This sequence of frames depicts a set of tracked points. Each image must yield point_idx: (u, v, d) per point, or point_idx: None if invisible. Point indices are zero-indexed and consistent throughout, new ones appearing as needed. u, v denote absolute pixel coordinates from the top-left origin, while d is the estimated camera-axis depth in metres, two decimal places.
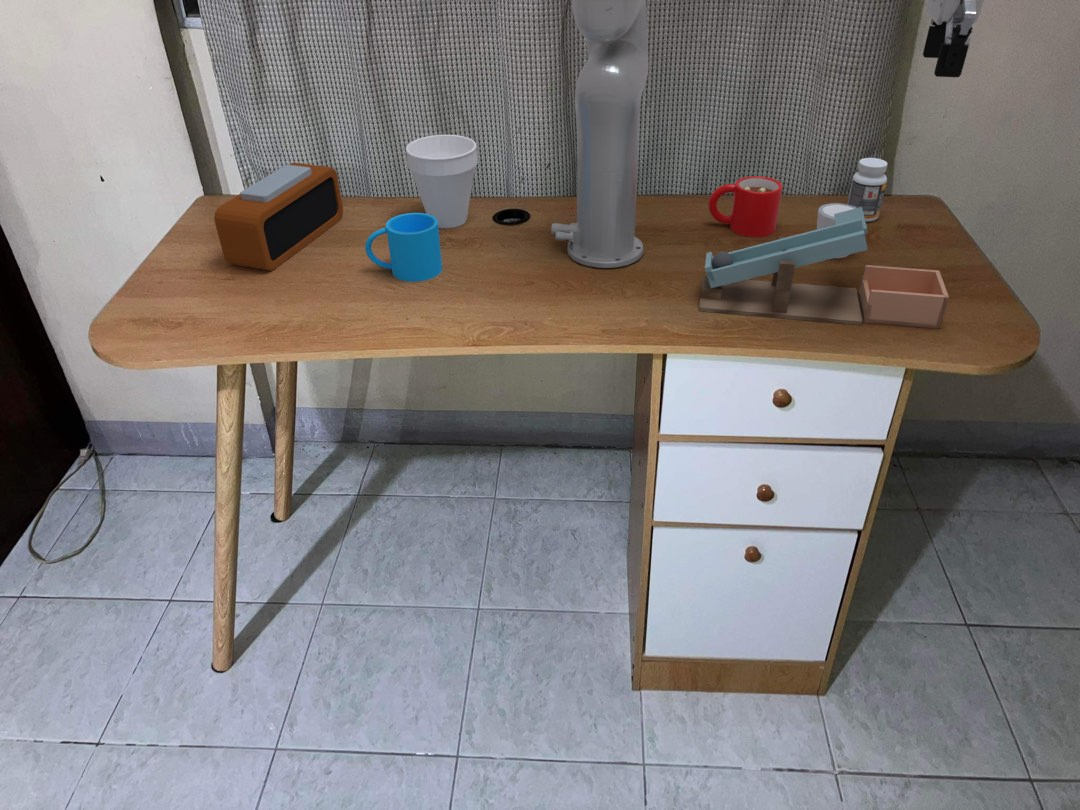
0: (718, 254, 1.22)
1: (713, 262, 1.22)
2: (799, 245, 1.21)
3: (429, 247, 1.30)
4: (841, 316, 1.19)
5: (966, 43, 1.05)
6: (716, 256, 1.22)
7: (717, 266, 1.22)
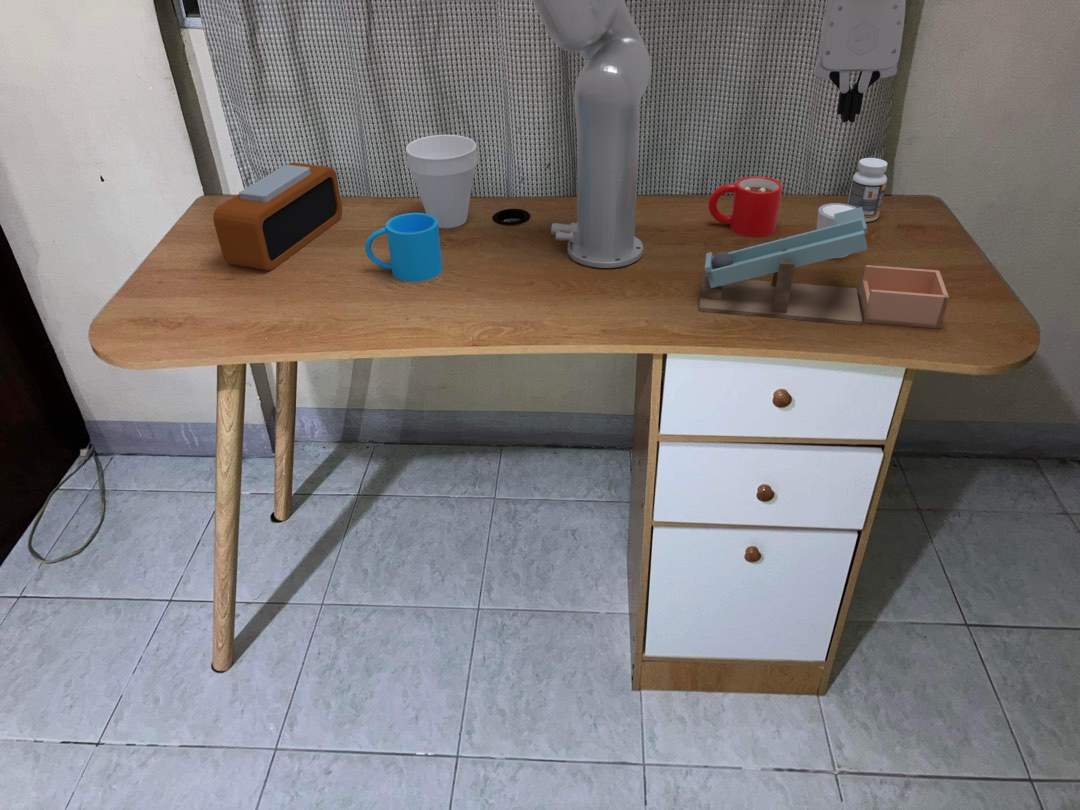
0: (718, 254, 1.22)
1: (713, 262, 1.22)
2: (799, 245, 1.21)
3: (428, 247, 1.30)
4: (841, 316, 1.19)
5: None
6: (716, 256, 1.22)
7: (717, 266, 1.22)
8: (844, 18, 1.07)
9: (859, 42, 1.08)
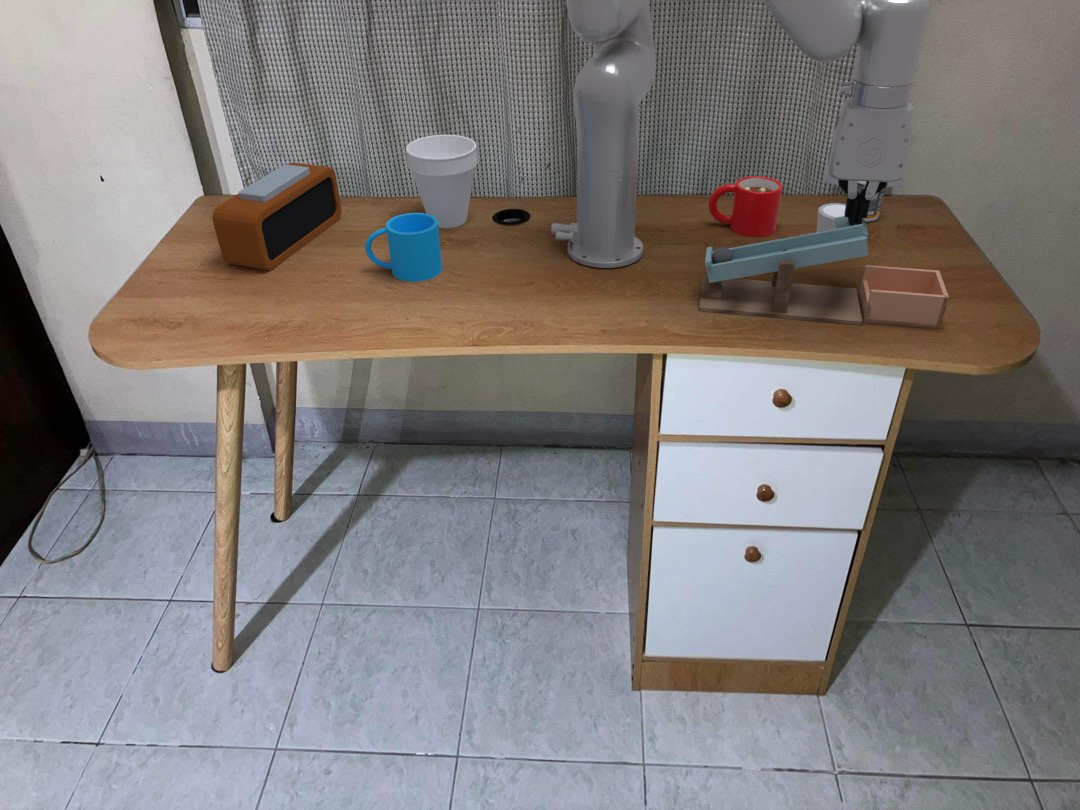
0: (719, 249, 1.21)
1: (713, 257, 1.22)
2: (800, 246, 1.21)
3: (429, 247, 1.30)
4: (841, 316, 1.19)
5: None
6: (717, 251, 1.21)
7: (717, 261, 1.21)
8: (854, 133, 1.12)
9: (868, 155, 1.14)
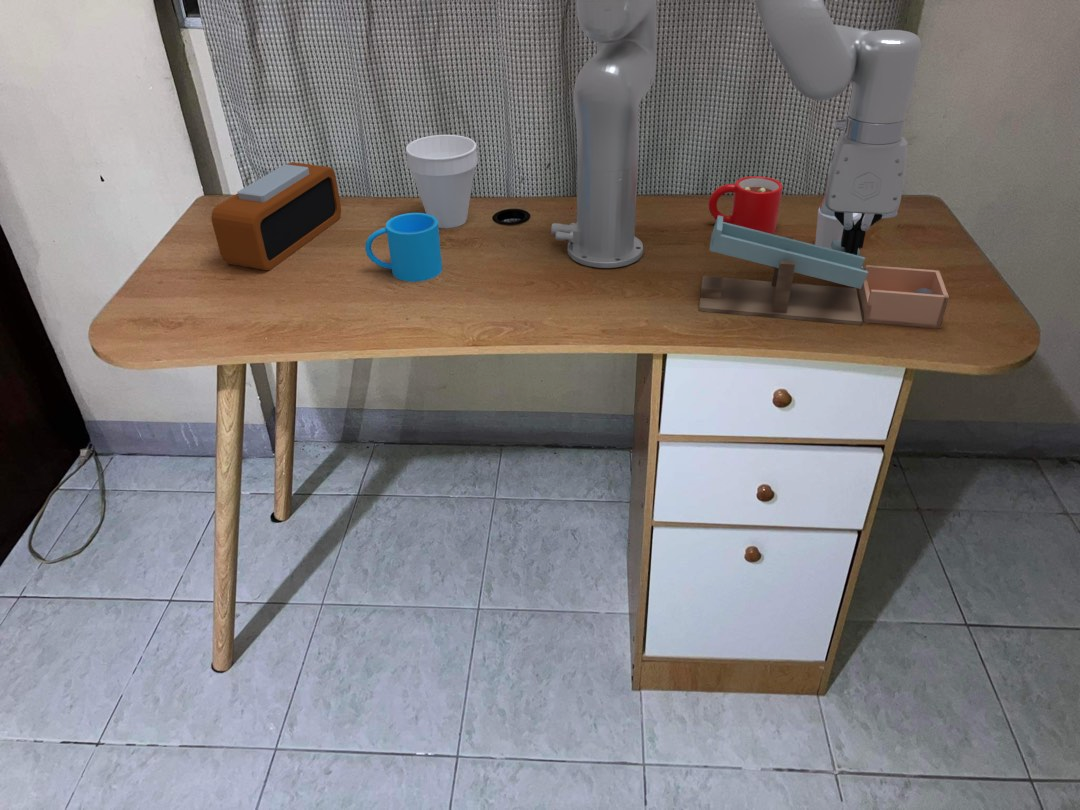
0: (931, 292, 1.18)
1: (922, 292, 1.18)
2: (801, 253, 1.21)
3: (429, 247, 1.30)
4: (841, 316, 1.19)
5: None
6: (929, 292, 1.18)
7: None
8: (849, 168, 1.15)
9: (863, 189, 1.16)
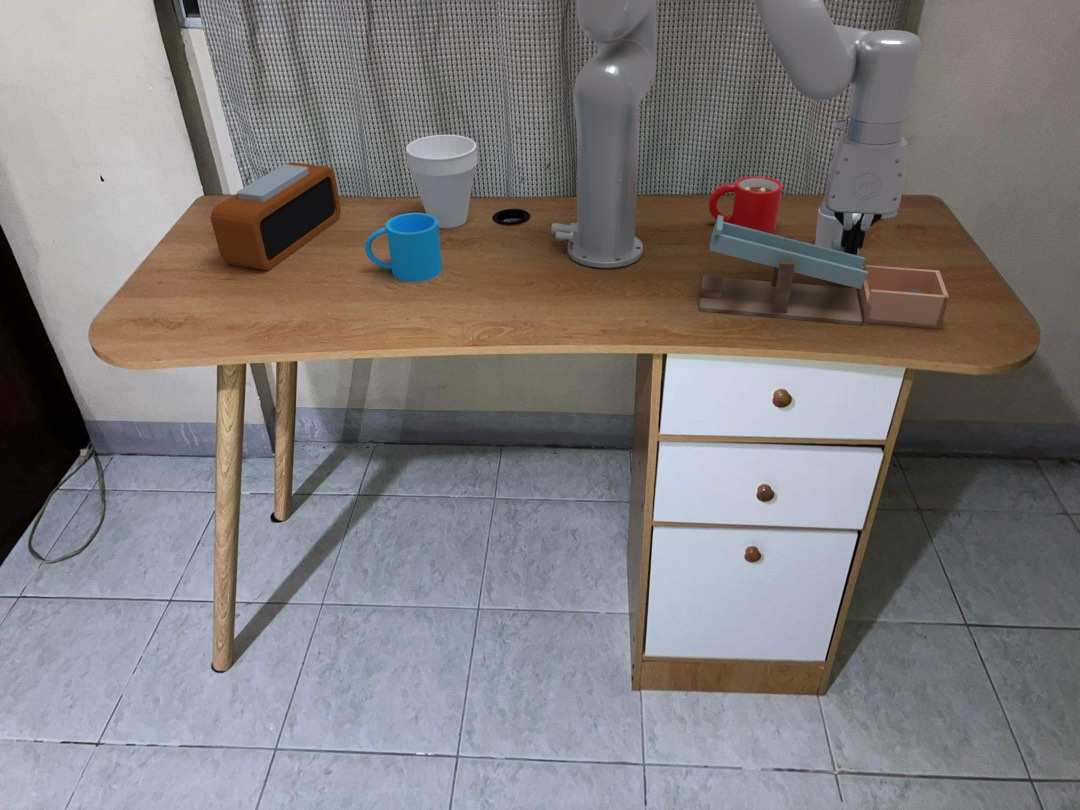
0: None
1: None
2: (801, 253, 1.21)
3: (429, 247, 1.30)
4: (841, 316, 1.19)
5: None
6: None
7: None
8: (849, 168, 1.15)
9: (863, 189, 1.16)
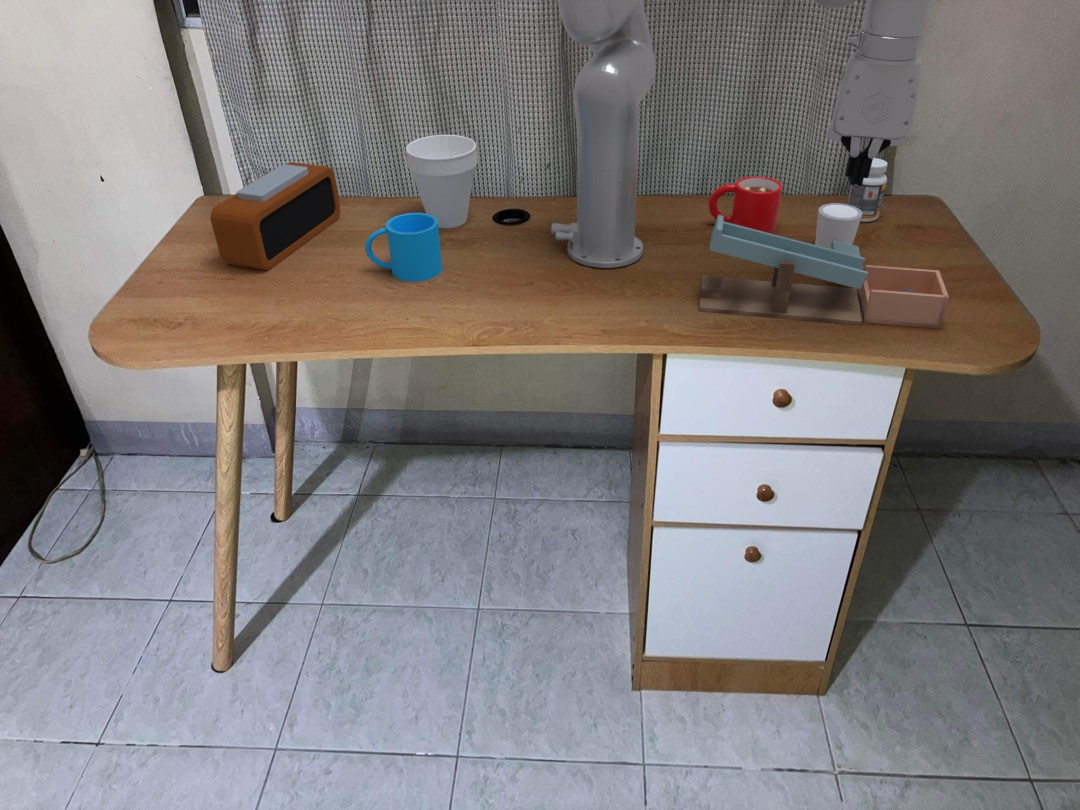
0: (910, 291, 1.19)
1: None
2: (801, 253, 1.21)
3: (429, 247, 1.30)
4: (841, 316, 1.19)
5: None
6: (908, 291, 1.19)
7: None
8: (860, 87, 1.09)
9: (873, 111, 1.10)
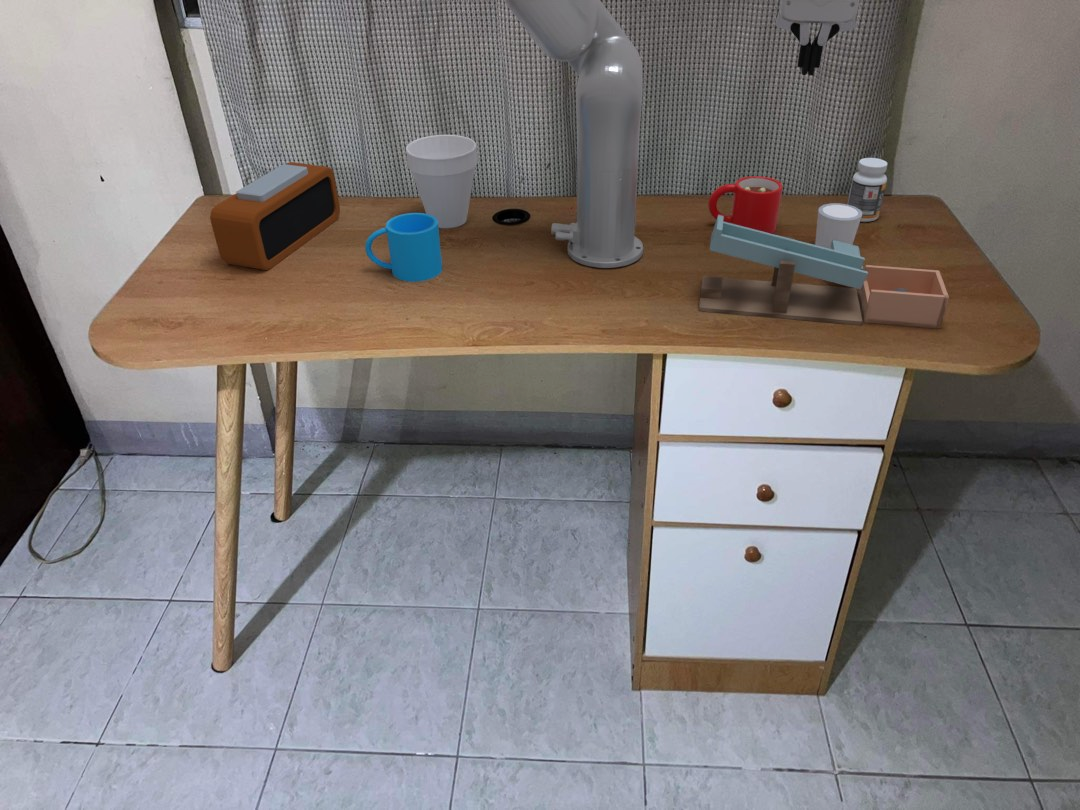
0: (897, 291, 1.19)
1: None
2: (801, 253, 1.21)
3: (429, 247, 1.30)
4: (841, 316, 1.19)
5: None
6: None
7: None
8: None
9: None
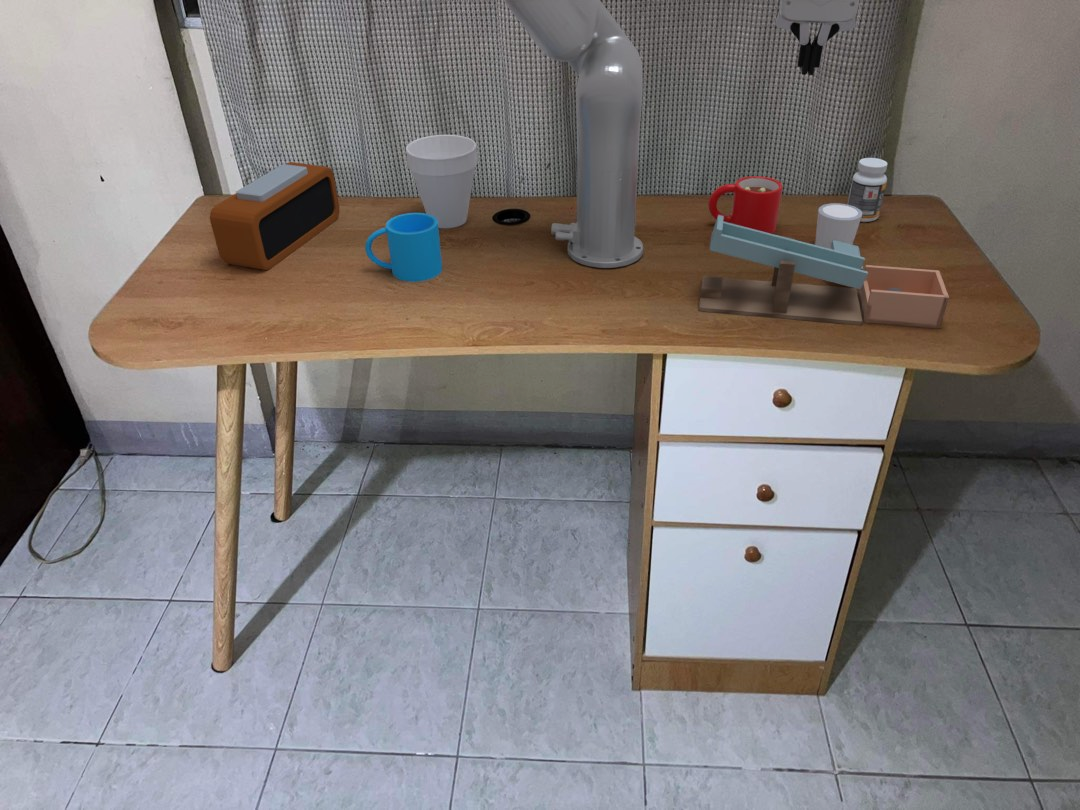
0: None
1: None
2: (801, 253, 1.21)
3: (429, 247, 1.30)
4: (841, 316, 1.19)
5: None
6: None
7: None
8: None
9: None
